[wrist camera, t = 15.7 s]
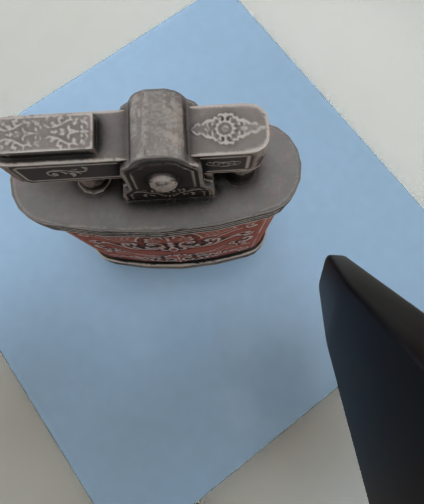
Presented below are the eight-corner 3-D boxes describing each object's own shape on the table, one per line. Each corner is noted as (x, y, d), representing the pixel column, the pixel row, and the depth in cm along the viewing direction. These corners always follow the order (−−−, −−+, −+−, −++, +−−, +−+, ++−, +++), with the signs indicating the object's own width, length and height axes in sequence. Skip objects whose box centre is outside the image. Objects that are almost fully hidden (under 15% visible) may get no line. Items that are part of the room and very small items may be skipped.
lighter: (261, 195, 18) (321, 40, 8) (267, 264, 17) (340, 189, 7) (97, 204, 18) (-53, 60, 8) (97, 273, 17) (-67, 212, 7)
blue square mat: (128, 554, 15) (126, 558, 15) (-94, 191, 18) (-100, 188, 18) (475, 272, 17) (479, 271, 17) (223, -12, 20) (223, -18, 20)
